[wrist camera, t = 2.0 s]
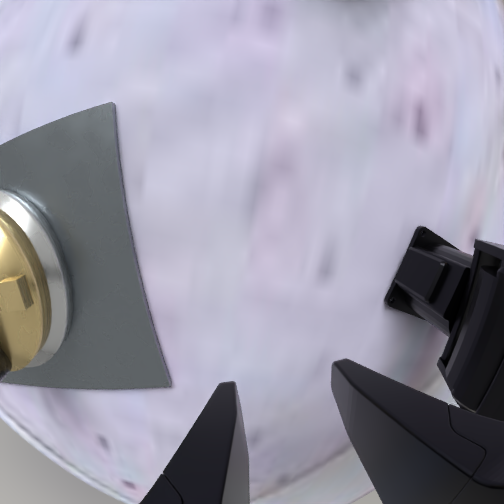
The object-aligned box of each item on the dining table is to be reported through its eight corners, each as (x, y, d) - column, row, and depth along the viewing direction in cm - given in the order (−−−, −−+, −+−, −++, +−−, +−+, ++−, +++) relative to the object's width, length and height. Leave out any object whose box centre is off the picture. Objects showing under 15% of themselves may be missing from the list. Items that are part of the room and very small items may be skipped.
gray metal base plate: (114, 103, 15) (103, 96, 14) (171, 381, 20) (168, 398, 18) (-75, 193, 14) (-87, 195, 12) (-22, 375, 19) (-30, 384, 17)
